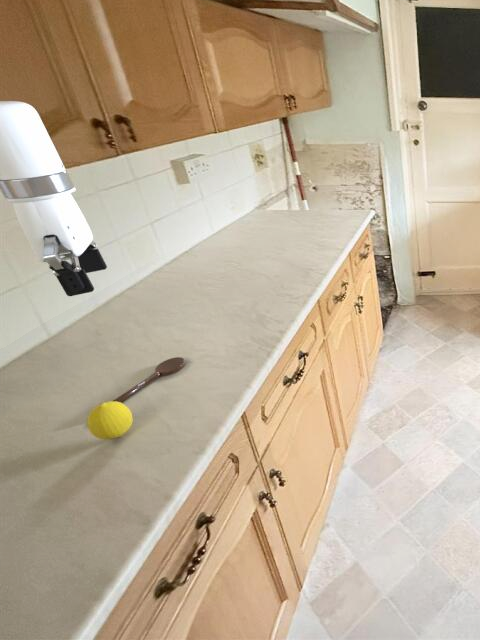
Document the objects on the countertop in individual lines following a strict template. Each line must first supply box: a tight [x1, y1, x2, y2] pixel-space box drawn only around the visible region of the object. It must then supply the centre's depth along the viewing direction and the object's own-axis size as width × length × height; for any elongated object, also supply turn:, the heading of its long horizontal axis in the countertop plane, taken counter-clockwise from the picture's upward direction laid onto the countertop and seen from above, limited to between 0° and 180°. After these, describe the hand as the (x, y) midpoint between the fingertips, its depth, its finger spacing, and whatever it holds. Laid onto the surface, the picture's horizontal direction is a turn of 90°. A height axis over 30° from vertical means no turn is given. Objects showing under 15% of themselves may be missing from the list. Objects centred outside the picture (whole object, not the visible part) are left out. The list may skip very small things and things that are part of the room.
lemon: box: [86, 400, 134, 441], centre depth 72 cm, size 6×6×8 cm
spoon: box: [112, 356, 186, 403], centre depth 84 cm, size 18×5×1 cm, turn 167°
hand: (89, 281), depth 69 cm, fingers open, 9 cm apart
